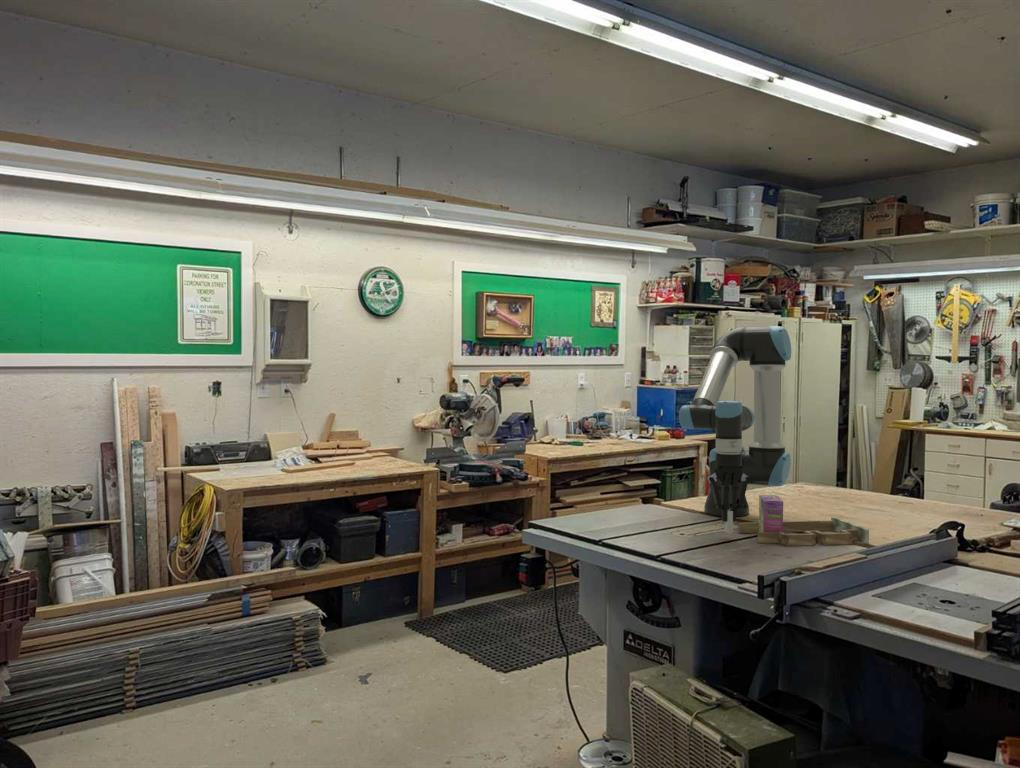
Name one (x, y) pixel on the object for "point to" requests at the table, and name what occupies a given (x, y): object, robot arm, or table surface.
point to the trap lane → (810, 532)
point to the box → (770, 513)
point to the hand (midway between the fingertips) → (728, 532)
